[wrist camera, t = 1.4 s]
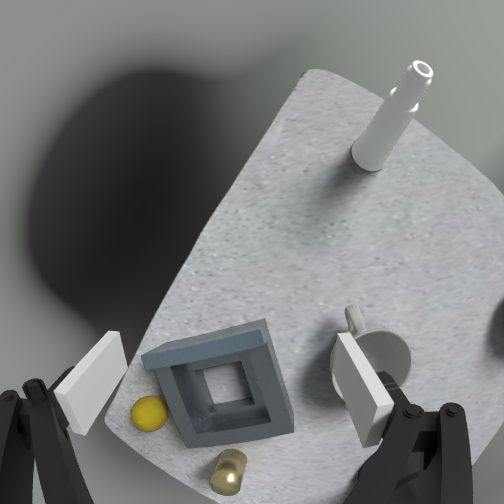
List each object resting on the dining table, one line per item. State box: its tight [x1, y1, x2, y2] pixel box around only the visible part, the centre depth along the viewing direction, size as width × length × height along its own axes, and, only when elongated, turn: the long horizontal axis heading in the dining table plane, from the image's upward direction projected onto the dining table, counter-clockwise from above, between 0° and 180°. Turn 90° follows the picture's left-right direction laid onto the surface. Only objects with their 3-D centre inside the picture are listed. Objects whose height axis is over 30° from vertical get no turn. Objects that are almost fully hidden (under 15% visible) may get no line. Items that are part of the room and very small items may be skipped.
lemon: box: [131, 396, 168, 432], centre depth 37 cm, size 6×6×8 cm
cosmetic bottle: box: [352, 61, 433, 171], centre depth 30 cm, size 6×6×22 cm
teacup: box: [330, 305, 413, 400], centre depth 35 cm, size 14×11×8 cm
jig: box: [141, 318, 294, 448], centre depth 36 cm, size 16×16×8 cm
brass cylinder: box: [209, 449, 247, 496], centre depth 35 cm, size 5×5×8 cm
